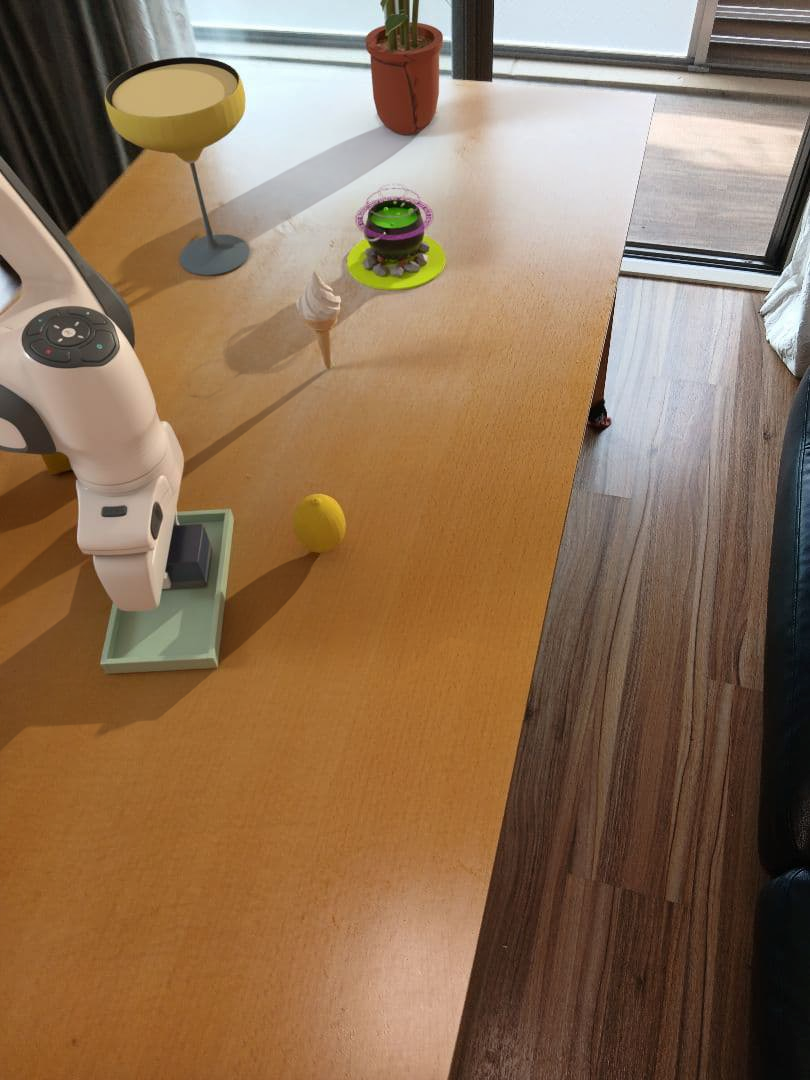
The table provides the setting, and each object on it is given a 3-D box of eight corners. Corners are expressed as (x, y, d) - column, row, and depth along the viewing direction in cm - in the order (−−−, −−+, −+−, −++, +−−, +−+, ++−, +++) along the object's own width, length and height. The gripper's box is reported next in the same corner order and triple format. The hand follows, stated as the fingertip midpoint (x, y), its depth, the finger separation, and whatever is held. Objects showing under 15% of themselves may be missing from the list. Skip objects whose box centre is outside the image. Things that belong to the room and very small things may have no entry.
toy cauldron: (367, 226, 130) (362, 158, 121) (458, 241, 126) (459, 172, 117) (331, 280, 121) (323, 211, 112) (427, 298, 118) (426, 228, 109)
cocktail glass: (147, 293, 121) (89, 121, 101) (165, 226, 132) (116, 59, 112) (269, 287, 120) (235, 114, 101) (276, 220, 132) (247, 52, 112)
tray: (106, 674, 82) (99, 664, 80) (136, 525, 93) (131, 514, 92) (217, 668, 82) (213, 658, 80) (234, 519, 93) (230, 508, 92)
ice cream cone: (356, 361, 110) (345, 263, 98) (336, 387, 107) (323, 289, 95) (319, 350, 111) (305, 253, 99) (299, 376, 108) (282, 278, 96)
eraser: (132, 590, 86) (119, 565, 83) (139, 552, 90) (127, 527, 86) (207, 586, 86) (197, 561, 83) (212, 549, 90) (203, 523, 86)
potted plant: (366, 114, 153) (349, -119, 125) (447, 104, 154) (448, -129, 126) (381, 160, 142) (366, -84, 114) (468, 149, 143) (474, -95, 116)
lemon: (289, 545, 91) (278, 498, 84) (329, 519, 93) (321, 471, 87) (318, 575, 88) (309, 529, 82) (358, 548, 90) (352, 501, 84)
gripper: (115, 396, 82) (153, 487, 93) (72, 559, 69) (121, 642, 80) (178, 393, 82) (208, 484, 93) (146, 556, 69) (185, 639, 80)
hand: (168, 559), depth 86 cm, fingers closed on eraser, 5 cm apart
